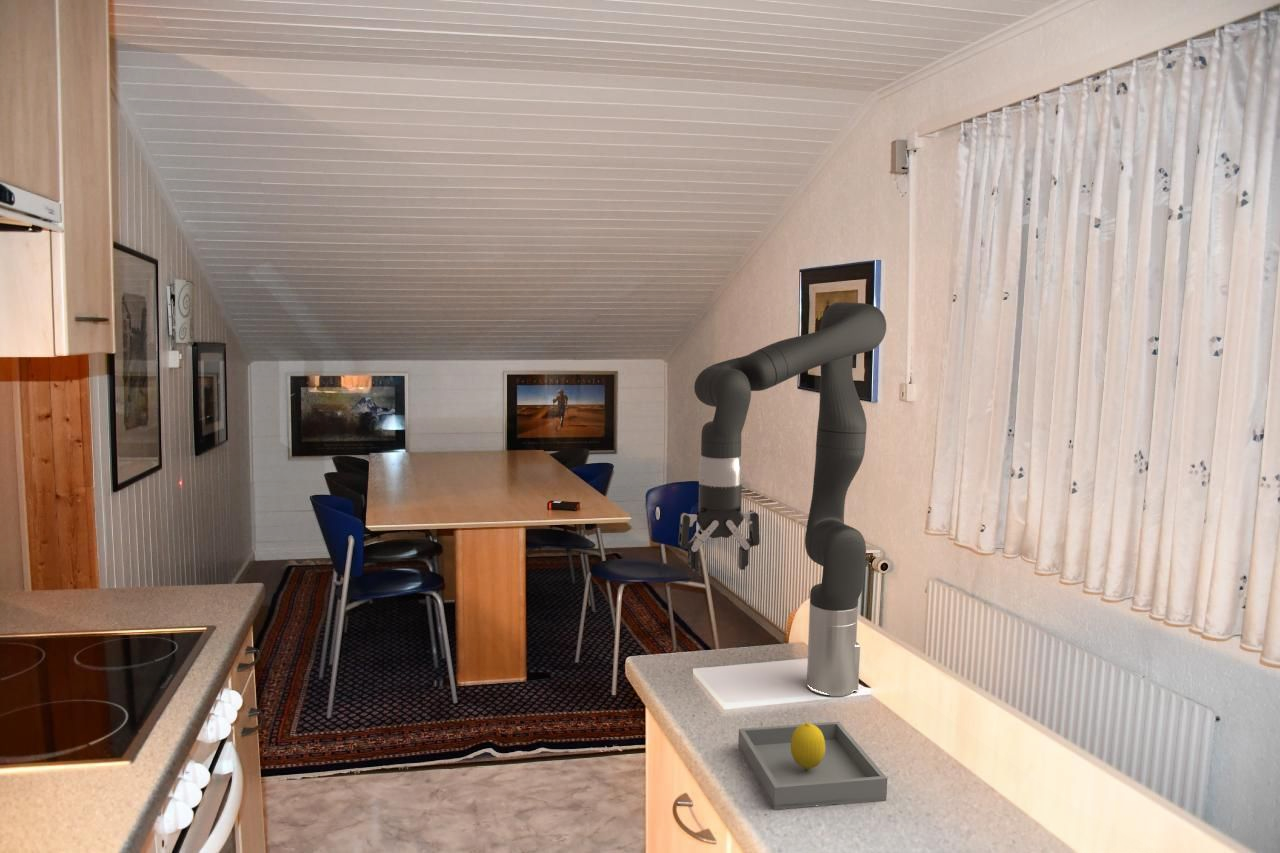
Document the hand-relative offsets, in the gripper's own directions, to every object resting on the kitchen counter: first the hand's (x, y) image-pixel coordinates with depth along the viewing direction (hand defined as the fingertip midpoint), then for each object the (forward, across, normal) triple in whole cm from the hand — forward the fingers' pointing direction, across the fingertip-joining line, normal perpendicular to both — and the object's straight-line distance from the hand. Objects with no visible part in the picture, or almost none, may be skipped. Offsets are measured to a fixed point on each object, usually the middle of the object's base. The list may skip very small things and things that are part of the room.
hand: (718, 569), depth 176 cm
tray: (+28, -10, +22) cm, 37 cm away
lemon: (+28, -10, +22) cm, 37 cm away
